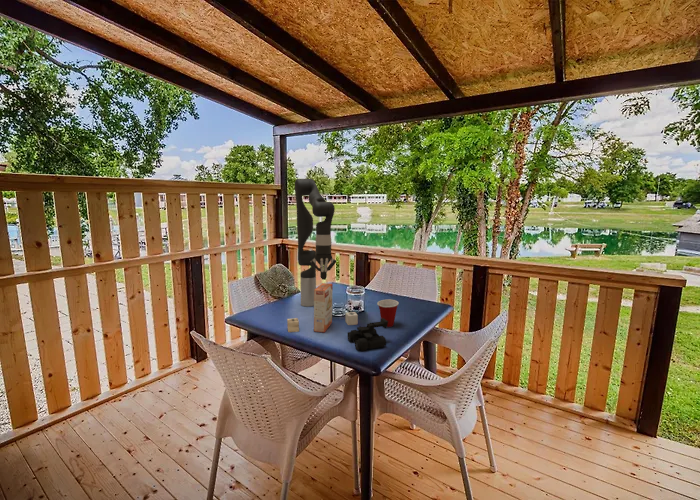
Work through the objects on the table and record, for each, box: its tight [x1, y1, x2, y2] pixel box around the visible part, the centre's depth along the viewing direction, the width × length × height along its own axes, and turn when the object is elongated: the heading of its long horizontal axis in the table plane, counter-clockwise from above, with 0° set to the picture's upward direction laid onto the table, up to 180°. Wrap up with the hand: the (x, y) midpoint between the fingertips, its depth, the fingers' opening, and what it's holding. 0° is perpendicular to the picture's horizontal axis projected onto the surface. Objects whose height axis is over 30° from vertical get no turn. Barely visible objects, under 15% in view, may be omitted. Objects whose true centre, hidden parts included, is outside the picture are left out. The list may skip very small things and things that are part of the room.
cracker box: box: [313, 282, 334, 333], centre depth 160 cm, size 14×6×21 cm, turn 168°
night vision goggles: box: [347, 317, 388, 352], centre depth 143 cm, size 14×16×10 cm
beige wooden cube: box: [345, 311, 359, 326], centre depth 167 cm, size 5×5×5 cm
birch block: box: [286, 317, 300, 333], centre depth 157 cm, size 5×5×5 cm
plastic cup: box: [377, 299, 399, 328], centre depth 164 cm, size 11×11×12 cm
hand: (323, 279), depth 158 cm, fingers closed
